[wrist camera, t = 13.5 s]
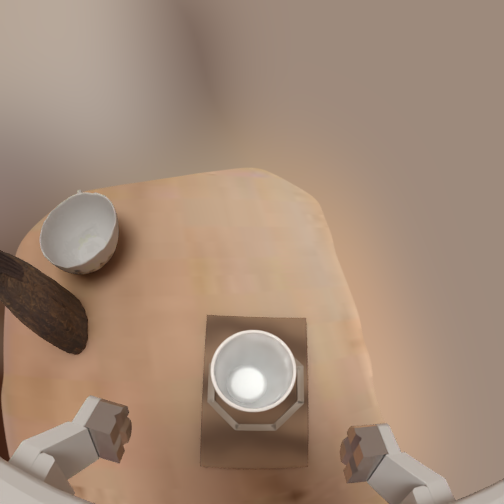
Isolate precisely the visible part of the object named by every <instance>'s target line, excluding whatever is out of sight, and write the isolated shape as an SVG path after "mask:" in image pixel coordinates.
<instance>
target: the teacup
mask: <svg viewBox="0 0 504 504" xmlns="http://www.w3.org/2000/svg"><path fill="white" fill-rule="evenodd" d="M118 236H119V225H118V218H117V214H116V211H115V208H114V206H113V204H112V202H111V201H110V200H109V199H108V198H107V197H106V196H104V195H101V194H99V193H86V192H84V193H83V192H82V191H81V190H78V191H77V194H75V195H73V196H70V197H69V198H68V199H66V200H65V201H63V202H61V203H60V204H59V205H58V206H57V207H56V208H55V209H54V210H52V211H51V212H50V214H49V215H48V217H47V219H46V220H45V221H44V223H43V226H42V229H41V234H40V247H41V250H42V252H43V255H44V256H45V257H46V258H47V259H48V260H49V261H50V262H51V263H52V264H53V265H55V266H56V267H58V268H60V269H62V270H64V271H66V272H69V273H73V274H88V273H91V272H94V271H96V270H98V269H100V268H101V267H103V266H104V265H105V264H106V263H107V262H108V261H109V260H110V258H111V257H112V255H113V253H114V251H115V249H116V246H117V242H118Z"/></svg>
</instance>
